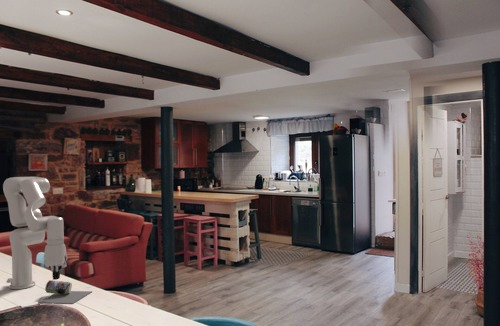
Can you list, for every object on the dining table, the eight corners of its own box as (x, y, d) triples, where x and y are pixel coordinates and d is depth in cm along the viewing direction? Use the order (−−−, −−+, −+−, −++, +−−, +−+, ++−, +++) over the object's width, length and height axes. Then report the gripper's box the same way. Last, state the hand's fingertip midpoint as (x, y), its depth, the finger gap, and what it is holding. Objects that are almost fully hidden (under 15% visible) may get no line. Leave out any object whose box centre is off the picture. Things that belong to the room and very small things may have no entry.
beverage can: (47, 278, 212) (72, 277, 214) (48, 292, 212) (72, 291, 215) (43, 283, 206) (69, 281, 208) (44, 297, 206) (70, 295, 208)
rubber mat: (37, 303, 198) (37, 302, 198) (59, 291, 216) (59, 290, 216) (73, 303, 196) (73, 303, 196) (92, 292, 214) (91, 291, 214)
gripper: (37, 243, 204) (37, 280, 204) (65, 243, 202) (66, 281, 202) (46, 240, 212) (46, 276, 211) (73, 240, 210) (74, 277, 210)
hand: (56, 278), depth 207 cm, fingers closed
